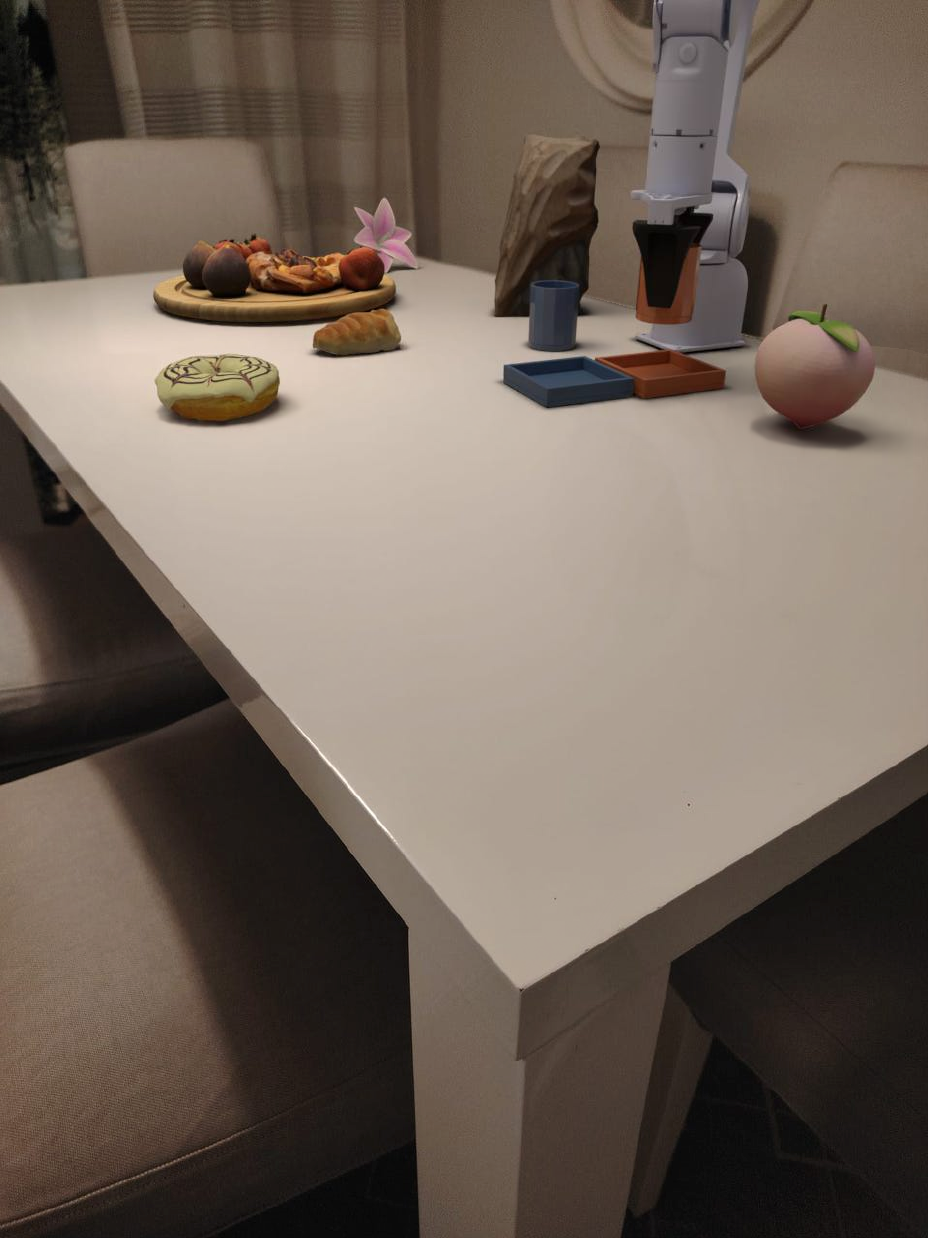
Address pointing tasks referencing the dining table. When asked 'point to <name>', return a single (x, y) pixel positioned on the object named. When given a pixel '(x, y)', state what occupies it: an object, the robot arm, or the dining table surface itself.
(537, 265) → the brown rock
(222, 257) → the wooden plate
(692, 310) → the terracotta cup
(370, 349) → the pastry
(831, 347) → the decorative fruit
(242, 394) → the decorated donut
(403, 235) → the lily
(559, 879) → the dining table surface
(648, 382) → the terracotta dish
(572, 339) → the blue cup
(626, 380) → the blue dish
